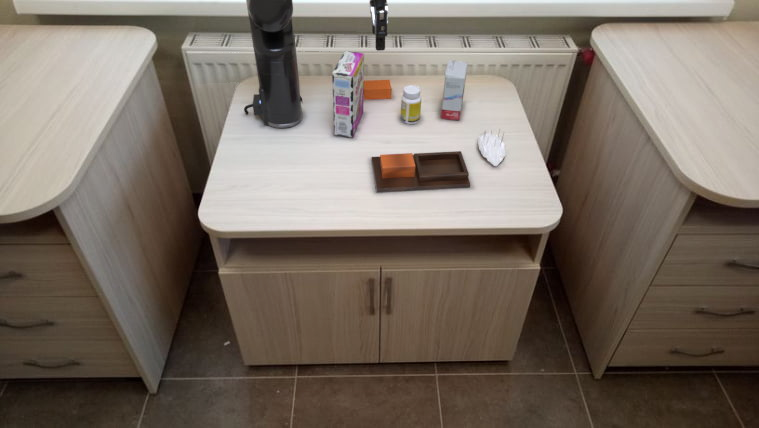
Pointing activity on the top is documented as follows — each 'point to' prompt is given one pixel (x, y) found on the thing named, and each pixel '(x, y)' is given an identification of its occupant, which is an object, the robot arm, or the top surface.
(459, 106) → the ink box
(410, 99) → the supplement bottle
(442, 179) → the brown wooden tray
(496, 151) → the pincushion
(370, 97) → the loose pad
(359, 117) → the candy bar box
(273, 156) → the top surface
